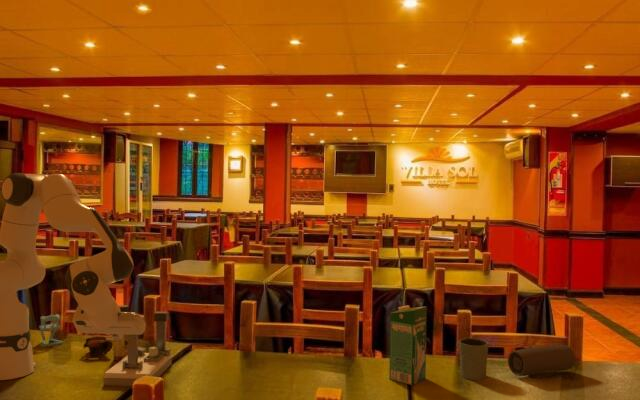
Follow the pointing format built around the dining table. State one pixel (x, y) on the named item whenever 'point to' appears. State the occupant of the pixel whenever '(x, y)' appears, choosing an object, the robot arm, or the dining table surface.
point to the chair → (48, 327)
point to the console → (146, 367)
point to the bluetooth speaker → (541, 360)
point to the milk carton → (408, 344)
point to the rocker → (141, 350)
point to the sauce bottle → (121, 341)
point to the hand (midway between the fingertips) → (118, 336)
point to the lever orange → (132, 351)
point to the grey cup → (473, 358)
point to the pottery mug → (97, 347)
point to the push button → (153, 352)
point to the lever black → (161, 331)
